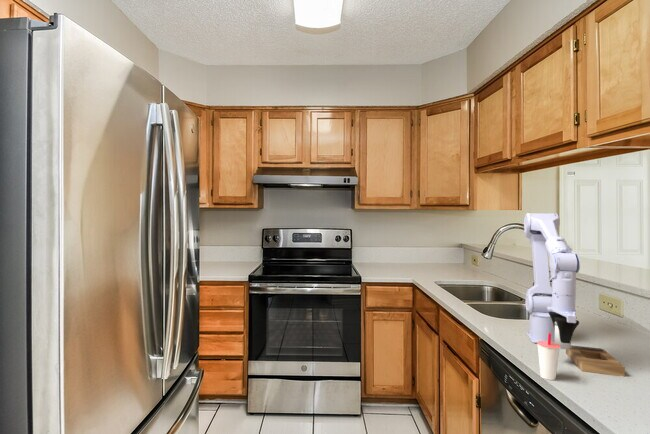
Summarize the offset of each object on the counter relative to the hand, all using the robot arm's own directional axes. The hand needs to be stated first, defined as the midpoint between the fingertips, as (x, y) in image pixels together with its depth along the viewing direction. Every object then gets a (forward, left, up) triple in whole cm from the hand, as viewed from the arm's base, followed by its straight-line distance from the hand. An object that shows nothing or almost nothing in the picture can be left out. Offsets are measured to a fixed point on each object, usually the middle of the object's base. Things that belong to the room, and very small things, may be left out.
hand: (562, 339), depth 104 cm
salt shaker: (0, 0, -2) cm, 2 cm away
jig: (-2, +9, -7) cm, 11 cm away
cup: (+11, -6, -7) cm, 15 cm away
